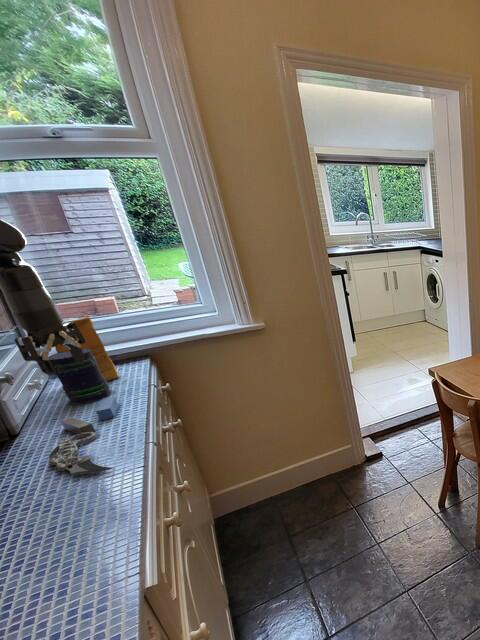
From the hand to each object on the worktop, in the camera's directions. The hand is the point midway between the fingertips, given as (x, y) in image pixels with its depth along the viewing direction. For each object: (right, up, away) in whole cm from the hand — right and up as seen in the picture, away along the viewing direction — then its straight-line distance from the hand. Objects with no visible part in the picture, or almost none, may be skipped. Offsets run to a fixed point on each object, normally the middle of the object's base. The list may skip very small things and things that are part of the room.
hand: (66, 367), depth 109 cm
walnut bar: (+1, -17, +3) cm, 17 cm away
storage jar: (-17, -9, +23) cm, 30 cm away
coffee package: (-28, -4, +36) cm, 46 cm away
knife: (+15, -23, -10) cm, 29 cm away
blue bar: (0, -13, +12) cm, 18 cm away
